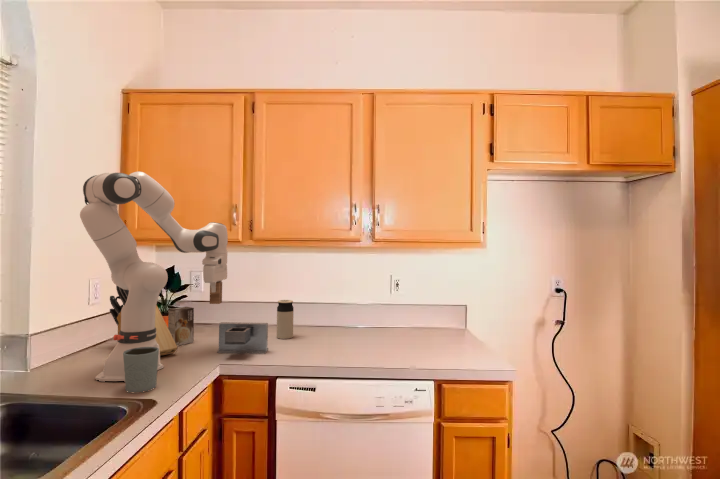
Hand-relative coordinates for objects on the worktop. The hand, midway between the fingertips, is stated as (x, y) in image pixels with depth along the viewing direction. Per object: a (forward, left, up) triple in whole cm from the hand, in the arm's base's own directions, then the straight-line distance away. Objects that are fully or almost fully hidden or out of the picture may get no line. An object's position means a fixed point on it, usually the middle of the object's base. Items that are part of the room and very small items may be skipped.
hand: (215, 291), depth 176 cm
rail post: (0, 0, -5) cm, 5 cm away
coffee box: (+8, +19, -25) cm, 32 cm away
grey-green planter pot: (-48, +7, -25) cm, 54 cm away
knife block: (-5, +29, -25) cm, 39 cm away
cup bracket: (-8, -13, -25) cm, 29 cm away
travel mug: (+22, -26, -25) cm, 43 cm away
